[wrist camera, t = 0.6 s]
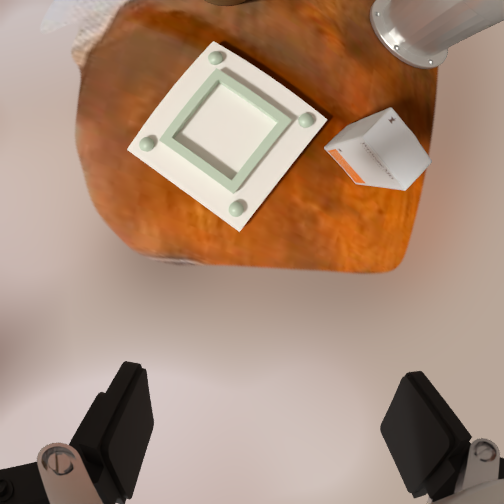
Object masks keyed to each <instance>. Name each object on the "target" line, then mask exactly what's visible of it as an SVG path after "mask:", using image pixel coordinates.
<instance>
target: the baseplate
mask: <svg viewBox="0 0 504 504" xmlns="http://www.w3.org/2000/svg"><path fill="white" fill-rule="evenodd" d="M326 121H327V119H326V118H325V117H323V116H322V115H321V114H320V113H319V112H317V111H316V110H315V109H313V108H312V107H311V106H310V105H308V104H307V103H306V102H304V101H303V100H302V99H300V98H299V97H298V96H297V95H295V94H294V93H292V92H291V91H290V90H288V89H287V88H286V87H284V86H283V85H281V84H280V83H279V82H277V81H276V80H274V79H273V78H271V77H270V76H268V75H267V74H266V73H264V72H263V71H261V70H260V69H258V68H257V67H255V66H253V65H252V64H250V63H249V62H247V61H246V60H244V59H242V58H241V57H239V56H238V55H236V54H234V53H233V52H231V51H229V50H228V49H226V48H224V47H223V46H221V45H219V44H217V43H216V42H214V41H213V42H212V43H211V44H210V45H209V46H208V47H207V48H206V50H205V51H204V52H203V53H202V54H201V55H200V56H199V57H198V58H197V59H196V61H195V62H194V63H193V64H192V65H191V66H190V67H189V68H188V70H187V71H186V72H185V73H184V74H183V75H182V77H181V78H180V79H179V80H178V81H177V83H176V84H175V85H174V86H173V88H172V89H171V90H170V91H169V93H168V94H167V95H166V96H165V98H164V99H163V100H162V101H161V103H160V104H159V105H158V107H157V108H156V109H155V111H154V112H153V113H152V115H151V116H150V117H149V119H148V120H147V122H146V123H145V124H144V126H143V127H142V129H141V130H140V131H139V133H138V134H137V136H136V137H135V139H134V140H133V142H132V143H131V145H130V146H129V148H128V149H127V150H128V151H130V152H131V153H132V154H134V155H135V156H137V157H138V158H139V159H141V160H142V161H143V162H145V163H146V164H148V165H149V166H150V167H152V168H153V169H154V170H156V171H157V172H159V173H160V174H161V175H163V176H164V177H165V178H167V179H168V180H170V181H171V182H172V183H174V184H175V185H176V186H178V187H179V188H181V189H182V190H183V191H185V192H186V193H187V194H189V195H190V196H191V197H193V198H194V199H196V200H197V201H198V202H200V203H201V204H202V205H204V206H205V207H206V208H208V209H209V210H211V211H212V212H213V213H215V214H216V215H217V216H219V217H220V218H221V219H223V220H224V221H225V222H227V223H228V224H230V225H231V226H232V227H234V228H235V229H236V230H238V231H239V232H240V231H241V229H242V228H243V227H244V225H245V224H246V223H247V221H248V220H249V219H250V218H251V216H252V215H253V214H254V212H255V211H256V210H257V208H258V207H259V206H260V205H261V203H262V202H263V201H264V199H265V198H266V197H267V195H268V194H269V193H270V192H271V190H272V189H273V188H274V187H275V185H276V184H277V183H278V181H279V180H280V179H281V178H282V176H283V175H284V174H285V172H286V171H287V170H288V169H289V167H290V166H291V165H292V164H293V162H294V161H295V160H296V158H297V157H298V156H299V155H300V153H301V152H302V151H303V150H304V148H305V147H306V146H307V145H308V143H309V142H310V141H311V140H312V138H313V137H314V136H315V135H316V133H317V132H318V131H319V130H320V128H321V127H322V126H323V125H324V123H325V122H326Z"/></svg>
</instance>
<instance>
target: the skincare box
mask: <svg viewBox="0 0 504 504" xmlns="http://www.w3.org/2000/svg"><path fill="white" fill-rule="evenodd" d="M324 149H325V150H326V151H327V152H328V153H329V154H330V155H331V156H332V157H333V158H334V159H335V160H336V161H337V163H338V164H339V165H340V166H341V167H342V168H343V169H344V170H345V172H346V173H347V174H348V175H349V176H350V178H351V179H352V180H353V181H354V182H355V184H359V185H368V186H376V187H384V188H391V189H398V190H404V191H405V190H407V188H408V187H409V186H410V185H411V184H412V183H413V182H414V181H415V180H416V179H417V178H418V177H419V176H420V175H421V174H422V172H423V171H424V170H425V169H426V168H427V167H428V166H429V165H430V164H431V162H432V161H431V159H430V157H429V156H428V154H427V153H426V152H425V150H424V149H423V147H422V146H421V145H420V143H419V141H418V140H417V138H416V137H415V135H414V134H413V132H412V131H411V130H410V129H409V128H408V127H407V126H406V124H405V123H404V122H403V121H402V119H401V118H400V117H399V116H398V114H397V113H396V112H395V111H394V110H393V108H391V107H390V108H388V109H385V110H383V111H380V112H378V113H375V114H373V115H371V116H368V117H366V118H363V119H361V120H359V121H357V122H354V123H352V124H350V125H347V126H346V127H345V128H344V129H343V130H342V131H340V132H339V133H338V134H337V135H336V136H335V137H334V138H333V139H332V140H331V141H330V142H329V143H328V144H327V145H326V146H325V147H324Z"/></svg>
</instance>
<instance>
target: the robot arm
mask: <svg viewBox="0 0 504 504" xmlns="http://www.w3.org/2000/svg"><path fill="white" fill-rule="evenodd" d="M503 20H504V0H376V1H375V2H374V3H373V5H372V7H371V10H370V21H371V24H372V27H373V29H374V31H375V33H376V35H377V37H378V38H379V40H380V41H381V42H382V44H383V45H384V46H385V47H386V48H387V49H388V50H389V51H390V52H391V53H392V54H393V55H394V56H396V57H397V58H398V59H400V60H401V61H403V62H405V63H407V64H409V65H411V66H413V67H416V68H421V69H431V68H435V67H437V66H439V65H440V64H442V63H443V62H444V60H445V59H446V57H447V53H448V48H449V47H450V46H452V45H454V44H456V43H458V42H460V41H462V40H464V39H466V38H468V37H470V36H472V35H474V34H476V33H478V32H480V31H482V30H484V29H486V28H488V27H491V26H493V25H495V24H497V23H499V22H501V21H503ZM153 426H154V419H153V413H152V407H151V401H150V394H149V387H148V379H147V372H146V369H143V368H142V367H141V364H138V363H133V362H127V361H125V362H124V363H123V364H122V366H121V367H120V369H119V371H118V372H117V374H116V376H115V378H114V379H113V381H112V383H111V385H110V386H109V388H108V390H107V391H106V393H103V392H100V393H99V394H98V395H97V396H96V398H95V400H94V402H93V403H92V405H91V407H90V408H89V410H88V412H87V414H86V415H85V417H84V419H83V421H82V422H81V424H80V426H79V427H78V429H77V431H76V433H75V435H74V436H73V438H72V440H71V442H70V444H69V445H67V444H63V443H52V444H49V445H46V446H45V447H43V448H42V449H41V450H40V452H39V453H38V456H37V462H34V463H29V464H25V465H21V466H16V467H11V468H7V469H1V470H0V504H115V503H119V504H125V501H126V498H127V499H131V498H132V495H133V492H134V488H135V485H136V482H137V478H138V475H139V472H140V469H141V465H142V462H143V459H144V456H145V452H146V449H147V446H148V443H149V440H150V436H151V433H152V430H153ZM380 430H381V433H382V436H383V438H384V440H385V442H386V444H387V446H388V448H389V451H390V453H391V455H392V457H393V459H394V461H395V464H396V466H397V468H398V470H399V472H400V475H401V477H402V479H403V481H404V484H405V486H406V488H407V490H408V492H410V493H412V495H413V497H414V498H417V497H420V496H423V495H426V494H427V493H428V495H429V498H428V502H427V504H504V458H501V457H500V453H499V449H498V447H497V446H496V444H495V443H493V442H492V441H490V440H487V439H483V438H481V439H477V440H475V441H474V442H473V443H472V444H471V443H470V442H469V441H470V439H471V438H472V436H471V435H470V434H469V432H468V431H467V429H466V428H465V427H464V425H463V424H462V423H461V421H460V420H459V419H458V417H457V416H456V415H455V414H454V412H453V411H452V409H451V408H450V407H449V405H448V404H447V403H446V401H445V400H444V399H443V398H442V397H441V395H440V394H439V392H438V391H437V390H436V389H435V387H434V386H433V385H432V383H431V382H430V381H429V380H428V378H427V377H426V376H425V375H424V373H423V372H422V371H417V372H409V373H407V374H406V375H405V376H404V377H403V378H402V379H401V381H400V384H399V386H398V389H397V391H396V393H395V396H394V398H393V400H392V402H391V405H390V407H389V409H388V411H387V413H386V416H385V417H384V419H383V421H382V423H381V428H380Z"/></svg>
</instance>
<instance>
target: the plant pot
mask: <svg viewBox="0 0 504 504" xmlns="http://www.w3.org/2000/svg"><path fill="white" fill-rule="evenodd" d="M205 1H207V2H208V3H211V4H214V5H219V6H232V5H236V4H240V3H242V2H244V1H246V0H205Z"/></svg>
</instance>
